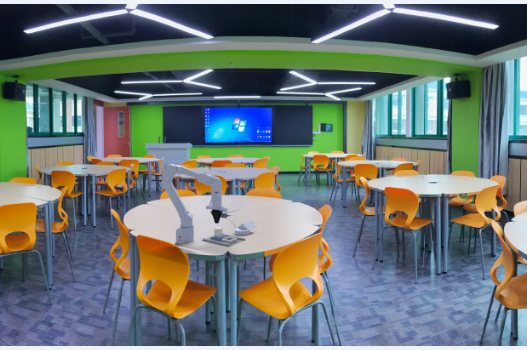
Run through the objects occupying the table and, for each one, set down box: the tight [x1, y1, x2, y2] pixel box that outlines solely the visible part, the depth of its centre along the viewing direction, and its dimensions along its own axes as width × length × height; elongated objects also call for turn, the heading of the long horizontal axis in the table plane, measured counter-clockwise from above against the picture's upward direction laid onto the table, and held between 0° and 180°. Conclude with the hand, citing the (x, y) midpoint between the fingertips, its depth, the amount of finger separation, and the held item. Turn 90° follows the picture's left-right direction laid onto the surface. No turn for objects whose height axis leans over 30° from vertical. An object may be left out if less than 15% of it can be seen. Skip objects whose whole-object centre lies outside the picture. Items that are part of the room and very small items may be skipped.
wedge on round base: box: [234, 220, 258, 236], centre depth 205 cm, size 9×7×13 cm
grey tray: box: [202, 232, 246, 248], centre depth 190 cm, size 14×20×3 cm
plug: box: [213, 226, 223, 238], centre depth 192 cm, size 3×3×6 cm
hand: (216, 223), depth 193 cm, fingers closed
